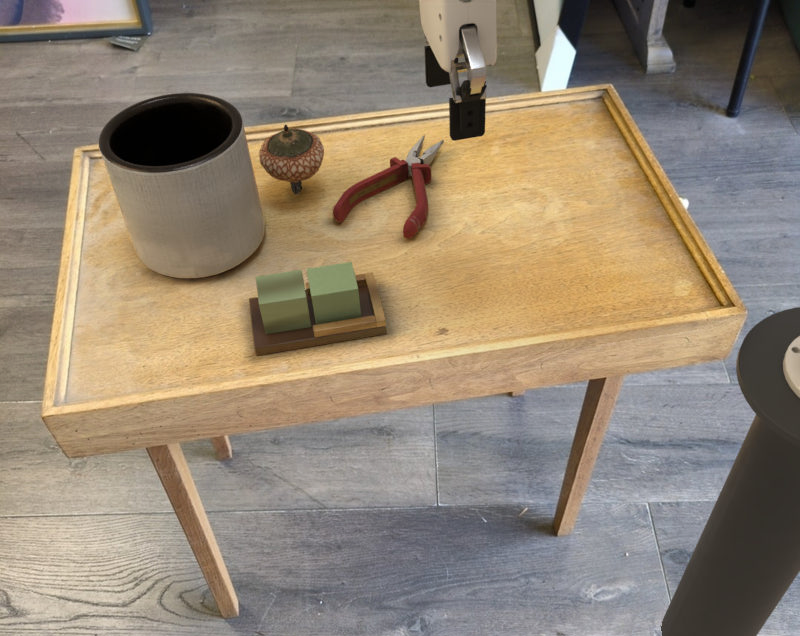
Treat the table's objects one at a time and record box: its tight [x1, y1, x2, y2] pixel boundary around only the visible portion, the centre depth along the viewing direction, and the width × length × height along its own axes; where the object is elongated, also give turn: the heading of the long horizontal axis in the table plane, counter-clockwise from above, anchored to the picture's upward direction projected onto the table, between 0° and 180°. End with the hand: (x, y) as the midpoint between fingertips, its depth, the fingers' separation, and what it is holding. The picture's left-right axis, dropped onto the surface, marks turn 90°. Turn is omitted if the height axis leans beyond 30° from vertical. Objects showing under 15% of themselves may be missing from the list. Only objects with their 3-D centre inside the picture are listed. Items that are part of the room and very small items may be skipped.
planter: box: [98, 92, 266, 279], centre depth 97 cm, size 16×16×16 cm
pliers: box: [332, 134, 445, 240], centre depth 107 cm, size 12×20×3 cm, turn 156°
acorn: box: [258, 124, 325, 196], centre depth 105 cm, size 8×8×10 cm
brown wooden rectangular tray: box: [248, 269, 388, 356], centre depth 91 cm, size 8×14×6 cm, turn 101°
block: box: [306, 261, 361, 325], centre depth 91 cm, size 4×5×4 cm
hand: (454, 109), depth 79 cm, fingers open, 9 cm apart
